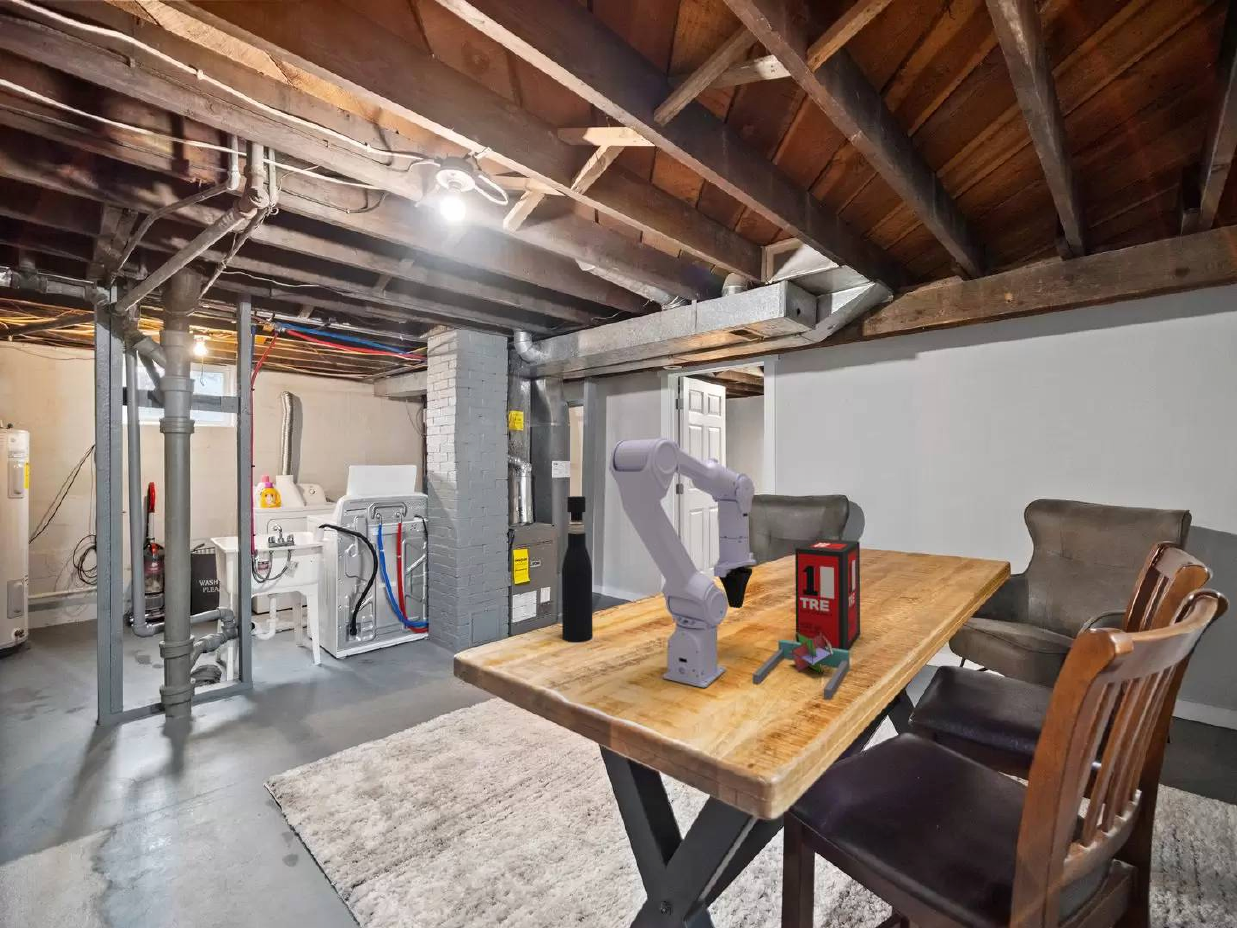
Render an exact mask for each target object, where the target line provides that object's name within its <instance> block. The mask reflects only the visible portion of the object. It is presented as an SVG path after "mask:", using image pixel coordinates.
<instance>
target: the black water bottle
mask: <svg viewBox="0 0 1237 928" xmlns="http://www.w3.org/2000/svg"><path fill="white" fill-rule="evenodd" d="M586 498H587V497H586V496H579V495H577V496H576V495H575V496H567V499H566V500H567V502H566V504H567V507H566V508H567V509H566V510H567V513H569V514H570V524H569V526H568V528H569V530H568V531H569V532H567V547H566V548H567V549H566V551H565V554H564V557H563V561H562V567H561V611H562V612H561V620H562V621H561V624H562V625H561V626H562V627H561V629H562V631H561V632H562V640H564V641H565V642H570V643H583V642H588V641H590V640H592V639H593V566H592V561H591V557H590V555H589V551H588V549H587V546H586V544H587V541H586V539H587V537H586V532H585V525H584V523H583V522H584V520H583V513H586Z"/></svg>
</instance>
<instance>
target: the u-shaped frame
mask: <svg viewBox="0 0 1237 928" xmlns="http://www.w3.org/2000/svg"><path fill="white" fill-rule="evenodd" d="M792 643H794V644H792ZM800 645H801V644H800V642H796V641H795V640H794V641H793V640H787V639H783V638H781V639H779V640H778V649H777V650H775V652H774V653H773V654H772V655H771V656H770V657H769V658H767V660H766V661H765V662H764V663H763V664H762V665H760V667H759V668H757V669H756V670H755V672H753V674H752V684H754V683H756V685H760V684H761V683H762V682H763V680H765V679H766V678H767V676H768V675H769V674H771V672H772V671H773V670H774V669H775V668H776V667H777V666H778V665H779V664H780V663H781V662H782V661H783V660H784V659H786V658H788V659H787V660H791V659H793V660H792V661H794V658H793V655H792V654H791V653H789V652H790V651H791V649H792V650H793V649H795V648H796V647H798V646H800ZM792 646H793V647H792ZM790 648H791V649H790ZM826 650H827V647H826ZM832 650H833V654H830V655H828V656H827V657H825V658H823V659H822V660H820V661H819V663H820V664H821V665H820V666H823V665H827V666H826V667H829V666H830V667H829V668H835V670H834V672H833V674H832V676H830V679H829V680H828V681H827V683H826V685H825V687H824V688H823V699H824V700H829V701H831V700H832V698H833V697H834V694H835V693H836V691H837V690H838V688H839V686H840V685H841V682H842V681H843V679H844V678H845V676H846V674H847V673H848V671H849V669H850V668H851V665H850V660H851V659H850V650H849V651H848V650H842V649H836V648H832ZM827 652H828V650H827ZM826 659H827V660H826ZM781 660H782V661H781ZM828 660H829V661H828ZM780 661H781V662H780ZM779 662H780V663H779ZM778 663H779V664H778ZM825 663H826V664H825ZM777 664H778V665H777ZM776 665H777V666H776ZM775 666H776V667H775ZM773 668H774V669H773ZM772 669H773V670H772ZM771 670H772V671H771ZM770 671H771V672H770ZM767 674H768V675H767ZM766 675H767V676H766ZM761 681H762V682H761ZM760 682H761V683H760ZM759 683H760V684H759Z"/></svg>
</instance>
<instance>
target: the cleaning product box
mask: <svg viewBox="0 0 1237 928" xmlns="http://www.w3.org/2000/svg"><path fill="white" fill-rule="evenodd" d="M860 543H861V542H860V541H856V540H844V539H843V540H842V539H831V538H830V539H828V538H815V539H813V540H810V541H808V542H807V543H804V544H802V545H800V546H798V547H796V548H795V550H794V551H795V552H794V553H795V554H794V555H795V567H794V568H795V569H794V570H795V572H794V573H795V635H796V637H795V642H800V641H799V638H798V635H797V634H796V632H798V633H799V634H801V635H803V636H805V637H808V638H810V639H812V638H814V637H815V636H817V635H819V634H820V633H821V634H822V635H823V636H824V637H825V638H826V639H827V640H828V641H829V643H830V644H831V646H832V648H836V649H842V650H848V651H850V650H851V648H852V647H853V645H854V644H855V643H856V642H857V640H858V638H859V637H860V636H861V565H860V563H861V562H860V559H861V558H860V557H861V556H860V555H861V554H860V553H861V548H860V547H861V546H860ZM814 633H817V634H814ZM822 635H821V636H822ZM823 636H822V638H823ZM823 641H824V644H825V647H827V645H826V644H827V642H826V640H825V639H824V638H823ZM825 642H826V643H825Z"/></svg>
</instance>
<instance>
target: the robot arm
mask: <svg viewBox="0 0 1237 928" xmlns="http://www.w3.org/2000/svg"><path fill="white" fill-rule="evenodd" d="M608 470H609V471H610V474H611V476H612V477H613V479H614V480H615V482H616V485H617V486H618V491H619V495H620V500H621V504H622V508H623V511H624V512H625V515H626V516H627V519H629V521H630V522H631V524H632V526H633V527H634V529H635V531H636V532H637V534H638V536H639V538H640V539H641V541H642V543H643V545H644V546H645V548H646V549H647V551H648V554H650V556H651V558H652V559H653V562H654V563H655V564H656V567H658V570H659V571H660V573H661V575H662V576H663V578H664V580H665V582H664V584H663V586H662V588H661V589H662V590H661V592H662V594H663V597H664V599H665V605H666V609H667V611H668V613H669V614H670V615H671V616H672V621H673V622H675V629H674V632H673V633H672V634H671V635H670V636H669V638H668V640H667V645H666V646H667V649H666V650H667V655H666V656H667V672H665V673H664V674H662V678H663V679H665V680H670V681H674V682H678V683H681V684H687V685H690V686H696V687H700V688H706V687H708V686H709V685H710V684H711V683H712V682H714V681H715V680H716V679H717V678H719V677H720V676H721V675H722V674H723V673H724V672H725V671H726V670H727V667H726V666H721V665H718V626H720V625H721V623H722V622H723V620H724V619H725V618H726V615H727V612H728V609H729V608H733V609H734V608H735V609H740V608H742V607H743V604H744V600H745V594H746V589H747V586H748V583H749V581H750V579H751V576H752V574H753V568H750V567H746V566H754V565H756V564H757V561H756V559H754V553H753V552H751V551H750V523H749V522H750V521H749V520H750V516H749V514H750V513H751V509H752V501H753V498H754V495H755V486H754V482H753V480H752V478H751V477H749V476H748V475H747V474H746V473H736V472H734V471H733V469H732V467H728V466H723V465H721V464H720V463H719V460H718V459H717V458H713V457H711V458H706V459H702V460H700V459H698V458H696V457H694V456H693V455H691V454H690V453H689V452H687V451H686V450H683V449H682V448H680V444H679V443H678V442H676V441H673V440H671V439H670V438H667V437H659V438H656V439H655V438H653V439H633V440H630V439H622V440H619V441H618V442H616V443H615V444H614V447H613V448H612V450H611V455H610V459H609V466H608ZM675 473H676V474H679V475H681V476H683V477H686V478H688V479H691V483H692V485H693V487H694V488H696V489H697V490H699V491H701V492H703V493H706V494H708V495H710V496H711V498H712V500H713V501H714V502H715V503H717V523H718V524H717V525H718V526H717V527H718V557H719V558H718V559H717V561H716V564H715V565H713V577H718V579H719V580H720V582H721V584H722V587H723V588H724V590H723V589H722V588H721V587H719V586H718V585H717V584H716V583H715V580H713V579H711V578H710V577H708V576H707V575H705V574H704V573H702V572H700V571H699V570H698V569H697V566H696V565H695V563H694V562H693V560H692V559H691V557H690V554H689V553H688V551H687V549H686V547H685V545H684V543H683V541H682V540H681V538H680V536H679V535H678V533H677V531H676V529H675V528H674V526H673V523H671V520H670V519H669V517H668V514H667V513H666V512H665V509H664V508H663V506H662V504H661V500H663V499H664V498H665V497H666V496H667V494H668V491H669V489H670V486H671V484H672V481H673V479H674V475H675Z"/></svg>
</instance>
